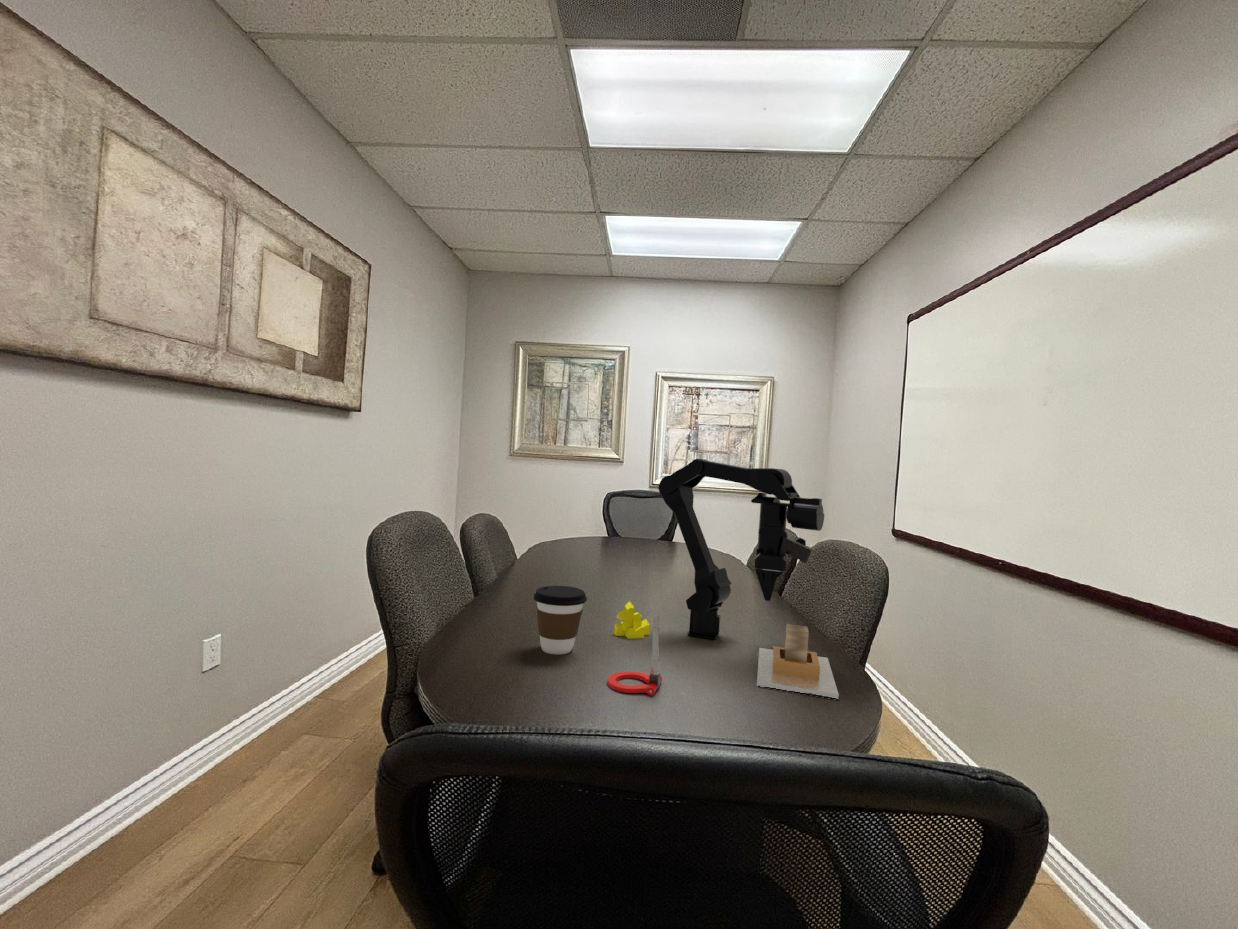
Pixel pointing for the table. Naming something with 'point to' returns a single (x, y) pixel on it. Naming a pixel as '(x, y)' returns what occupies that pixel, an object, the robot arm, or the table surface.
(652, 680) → the tow hook
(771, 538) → the robot arm
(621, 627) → the yellow blocky cluster
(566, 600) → the coffee cup
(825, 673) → the wooden socket on plate
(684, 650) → the table surface
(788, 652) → the cream upright block
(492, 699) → the table surface
